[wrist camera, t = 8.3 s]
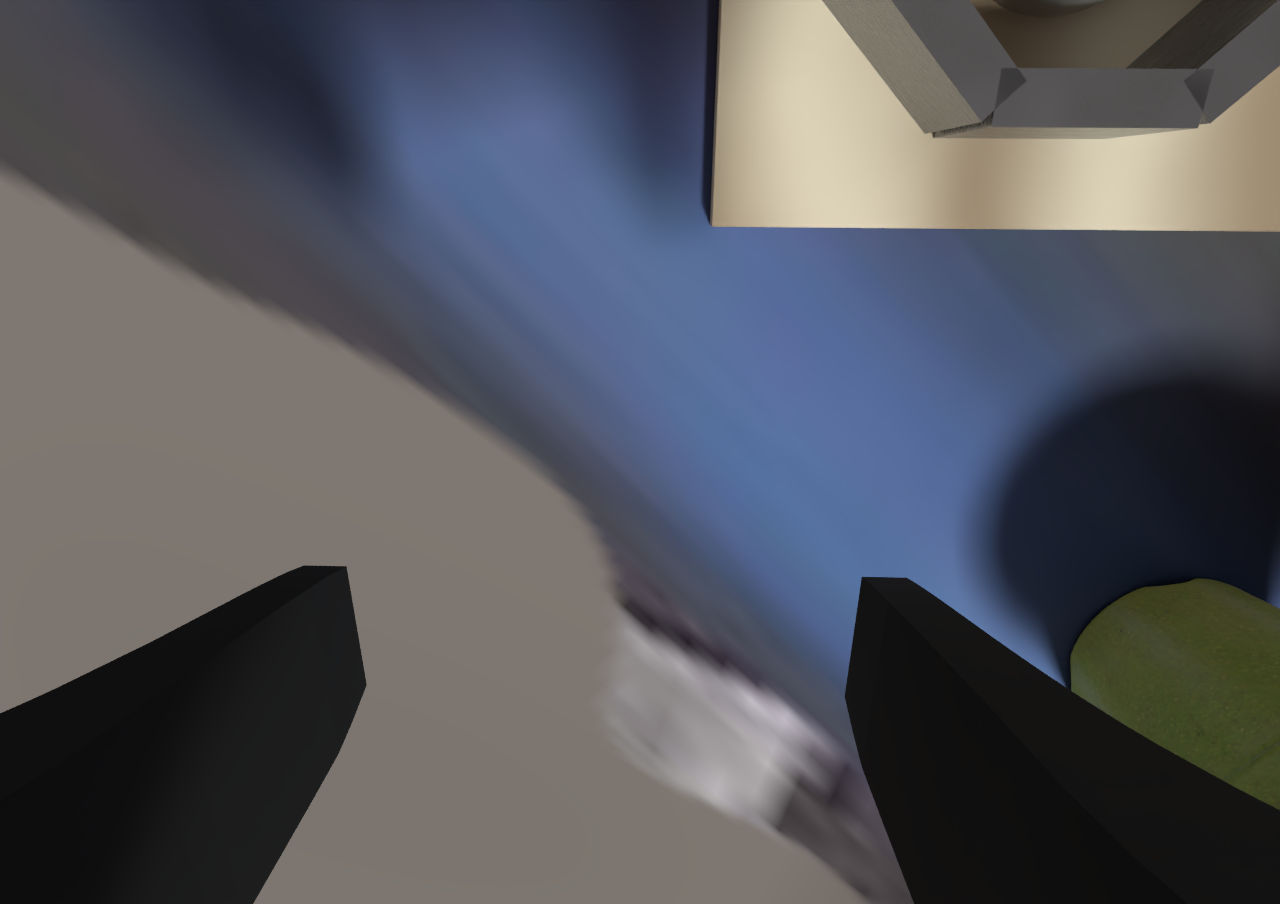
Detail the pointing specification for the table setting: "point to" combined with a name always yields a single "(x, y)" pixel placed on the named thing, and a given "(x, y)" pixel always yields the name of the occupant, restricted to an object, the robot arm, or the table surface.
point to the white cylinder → (1047, 6)
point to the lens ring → (1060, 71)
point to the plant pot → (1191, 677)
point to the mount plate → (968, 167)
